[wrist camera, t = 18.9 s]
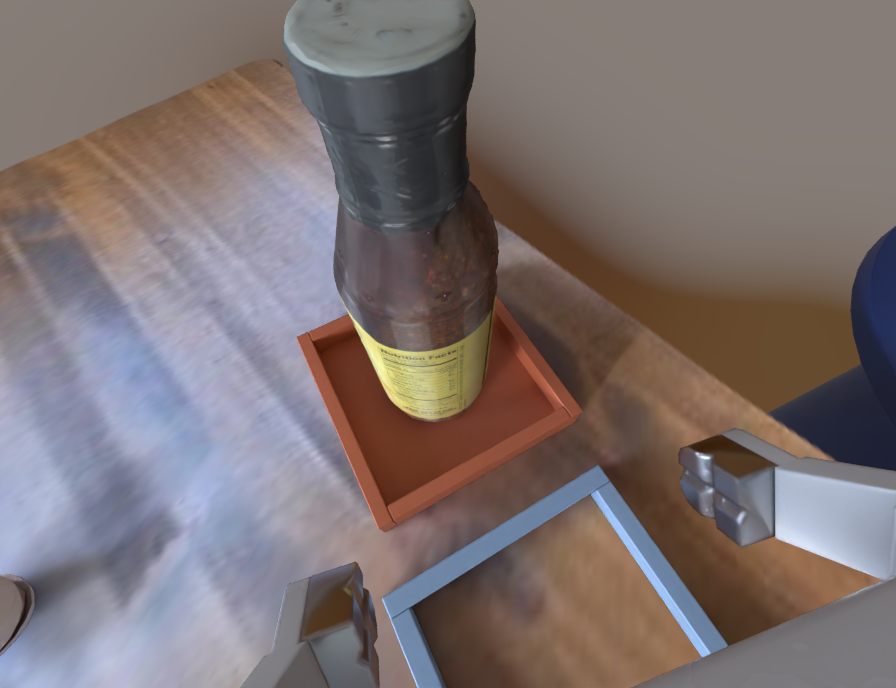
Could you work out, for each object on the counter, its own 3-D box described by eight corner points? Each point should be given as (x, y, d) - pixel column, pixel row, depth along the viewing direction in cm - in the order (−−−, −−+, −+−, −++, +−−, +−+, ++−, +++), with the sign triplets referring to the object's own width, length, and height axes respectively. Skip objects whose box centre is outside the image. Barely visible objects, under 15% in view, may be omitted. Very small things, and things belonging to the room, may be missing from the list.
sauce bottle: (412, 324, 28) (338, -80, 11) (499, 357, 27) (575, -43, 9) (364, 409, 25) (159, 47, 8) (459, 450, 24) (461, 123, 7)
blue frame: (592, 468, 24) (598, 463, 23) (800, 762, 18) (821, 774, 17) (385, 597, 21) (381, 597, 20) (548, 997, 15) (554, 1029, 14)
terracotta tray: (469, 277, 31) (470, 259, 29) (574, 422, 25) (583, 410, 23) (306, 351, 28) (296, 337, 26) (384, 532, 22) (378, 529, 21)
